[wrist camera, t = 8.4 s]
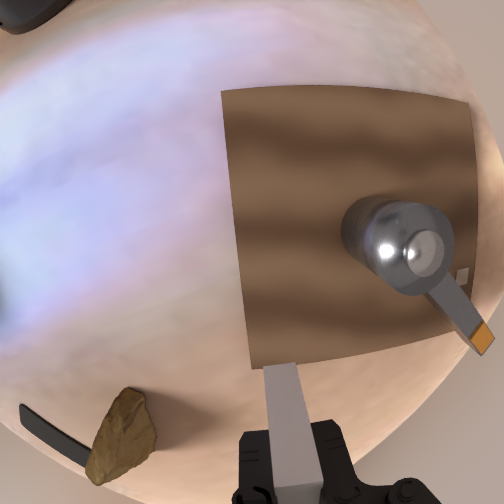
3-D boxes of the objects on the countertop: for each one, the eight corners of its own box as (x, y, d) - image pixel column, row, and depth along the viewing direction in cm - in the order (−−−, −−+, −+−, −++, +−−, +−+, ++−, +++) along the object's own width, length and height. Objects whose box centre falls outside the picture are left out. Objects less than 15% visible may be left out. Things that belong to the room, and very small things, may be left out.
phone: (18, 402, 28) (100, 457, 29) (21, 399, 28) (102, 453, 30) (20, 424, 29) (94, 473, 31) (22, 421, 30) (96, 470, 32)
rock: (99, 376, 23) (68, 423, 24) (125, 452, 17) (88, 487, 18) (178, 390, 31) (139, 431, 32) (212, 448, 25) (165, 483, 26)
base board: (223, 98, 20) (220, 90, 18) (455, 106, 20) (468, 103, 18) (251, 356, 25) (251, 370, 23) (454, 319, 25) (465, 327, 23)
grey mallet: (327, 234, 20) (367, 263, 13) (368, 182, 19) (426, 184, 12) (442, 343, 23) (485, 385, 15) (473, 303, 22) (521, 336, 15)
